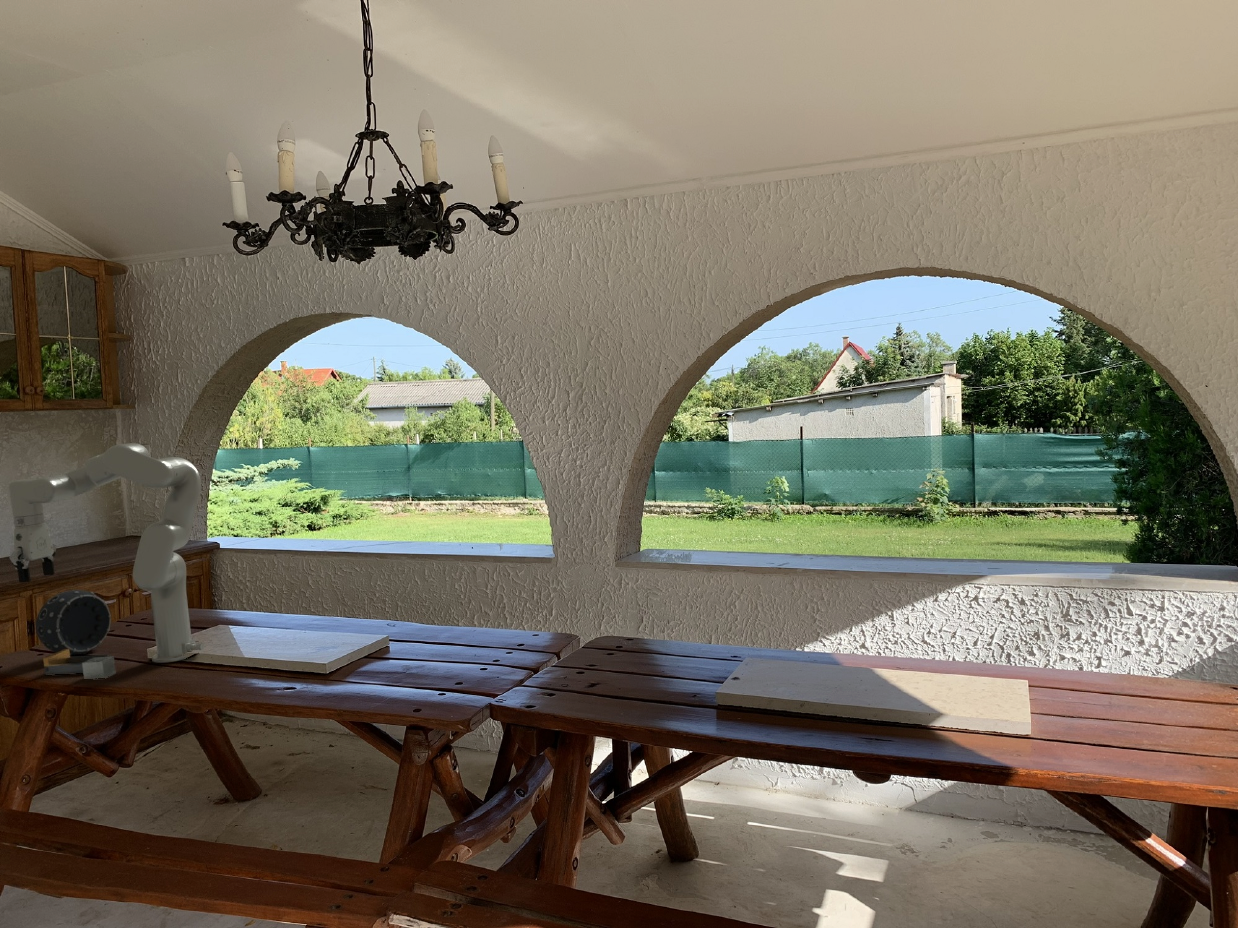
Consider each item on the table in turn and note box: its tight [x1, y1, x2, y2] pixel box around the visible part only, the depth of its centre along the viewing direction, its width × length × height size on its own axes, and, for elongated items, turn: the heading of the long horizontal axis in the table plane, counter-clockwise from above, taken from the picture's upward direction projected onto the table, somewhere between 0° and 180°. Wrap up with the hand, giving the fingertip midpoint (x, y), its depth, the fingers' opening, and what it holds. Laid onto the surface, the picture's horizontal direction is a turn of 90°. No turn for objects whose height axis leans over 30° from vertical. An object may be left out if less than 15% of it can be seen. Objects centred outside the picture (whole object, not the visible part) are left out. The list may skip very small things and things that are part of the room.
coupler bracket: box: [42, 649, 112, 675], centre depth 262 cm, size 14×9×5 cm, turn 86°
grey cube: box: [82, 655, 117, 680], centre depth 253 cm, size 7×5×5 cm
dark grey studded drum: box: [35, 589, 112, 656], centre depth 281 cm, size 11×20×20 cm, turn 155°
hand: (37, 578), depth 265 cm, fingers open, 9 cm apart
